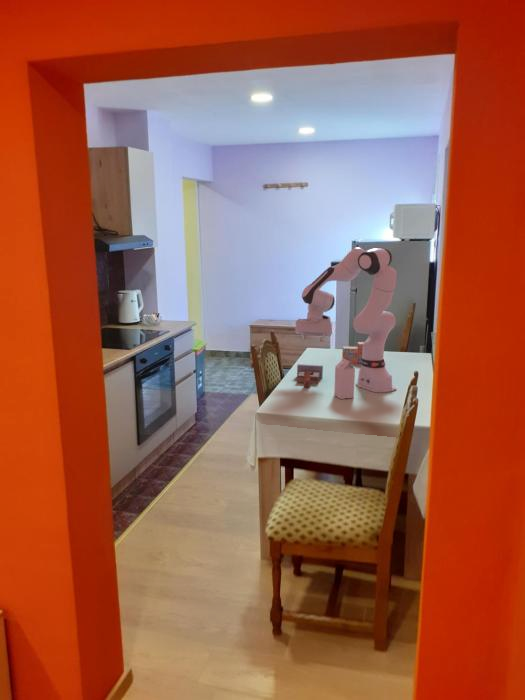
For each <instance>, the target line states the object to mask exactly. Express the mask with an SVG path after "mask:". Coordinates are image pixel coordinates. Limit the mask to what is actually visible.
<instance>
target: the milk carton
mask: <svg viewBox="0 0 525 700" xmlns="http://www.w3.org/2000/svg"><path fill="white" fill-rule="evenodd" d="M334 370H335V371H334V393H333V395H334V396H335V397H336V396H337V397H336V398H338V399H340V400H345V398H348V399H354V397H355V376H356V375H355V374H356V368H355V367H354V366H352V364H351V363H349V361H347V360H345V359H343V358H342V357H341V360H340V361H339V363H337V364H336V365H335V369H334Z"/></svg>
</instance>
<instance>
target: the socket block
mask: <svg viewBox="0 0 525 700" xmlns="http://www.w3.org/2000/svg"><path fill="white" fill-rule="evenodd" d="M304 372H311V373H310V385H319V382H320V379H321V378H320V372H319V371H299V374H298V377H297V384H301V385H302V384H303V385H304Z"/></svg>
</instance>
